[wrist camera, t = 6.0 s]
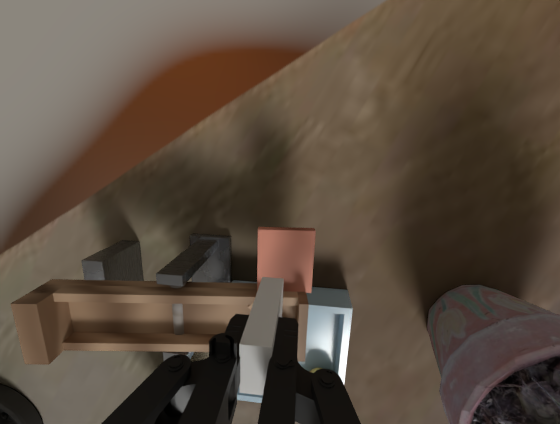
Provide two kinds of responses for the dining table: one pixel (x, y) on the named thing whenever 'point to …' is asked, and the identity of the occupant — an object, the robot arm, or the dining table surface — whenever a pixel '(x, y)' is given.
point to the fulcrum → (199, 266)
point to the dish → (323, 333)
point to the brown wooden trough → (161, 306)
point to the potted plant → (496, 357)
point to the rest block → (115, 263)
